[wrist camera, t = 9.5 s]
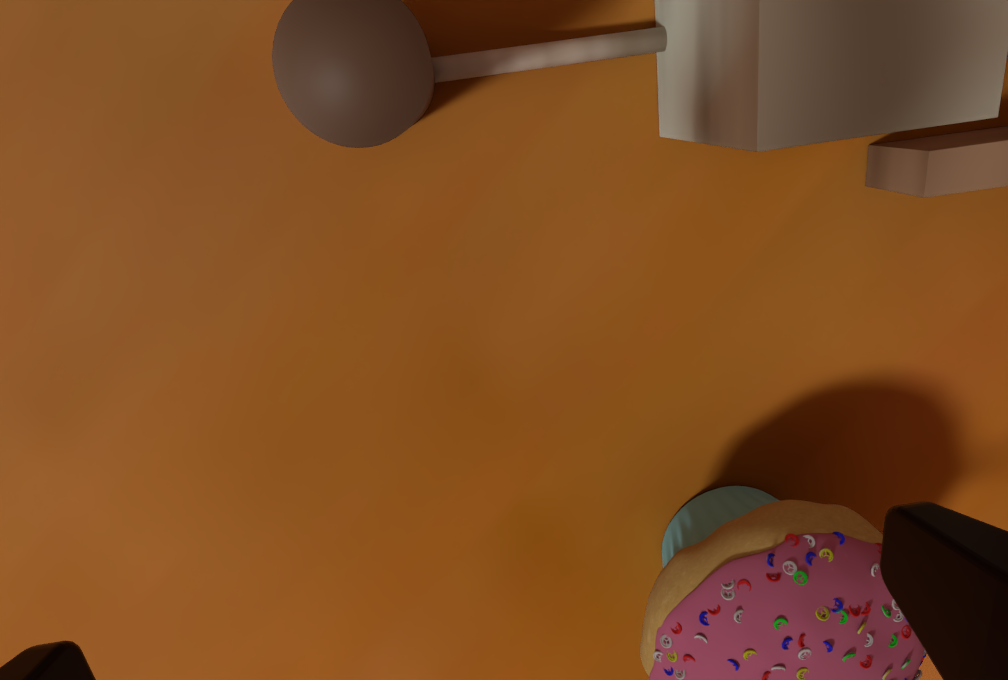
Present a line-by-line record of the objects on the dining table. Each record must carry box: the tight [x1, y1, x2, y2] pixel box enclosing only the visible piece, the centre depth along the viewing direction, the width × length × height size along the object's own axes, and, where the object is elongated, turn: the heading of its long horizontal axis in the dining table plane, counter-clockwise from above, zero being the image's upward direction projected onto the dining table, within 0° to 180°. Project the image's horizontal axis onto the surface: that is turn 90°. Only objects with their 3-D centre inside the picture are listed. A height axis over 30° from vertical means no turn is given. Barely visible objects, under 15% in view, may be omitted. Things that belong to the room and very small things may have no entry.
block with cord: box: [272, 0, 1008, 152], centre depth 14 cm, size 14×5×6 cm, turn 97°
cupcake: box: [640, 486, 927, 680], centre depth 18 cm, size 9×8×12 cm
